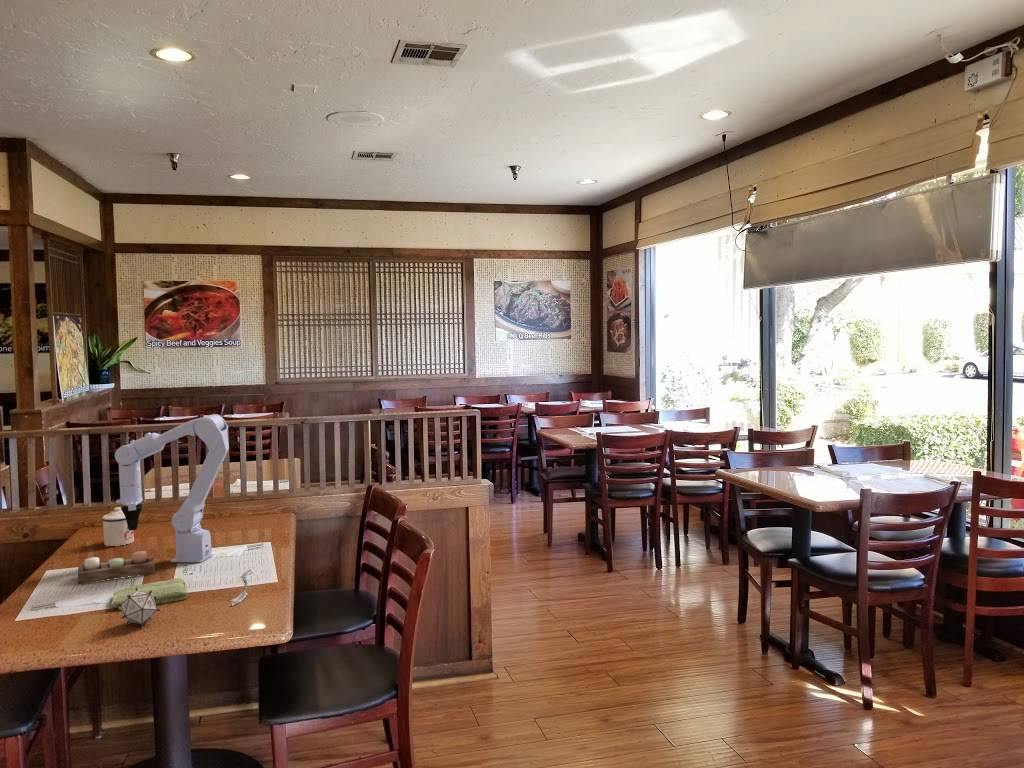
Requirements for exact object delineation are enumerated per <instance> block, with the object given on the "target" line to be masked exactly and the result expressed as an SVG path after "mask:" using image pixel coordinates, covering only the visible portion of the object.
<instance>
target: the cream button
mask: <svg viewBox="0 0 1024 768" xmlns="http://www.w3.org/2000/svg"><path fill="white" fill-rule="evenodd" d="M99 563H100V557H97V556H92V557H87V558H85V559H84V565H85V569H86V570H93V569H97V568H99V567H100V565H99Z"/></svg>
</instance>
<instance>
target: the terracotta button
mask: <svg viewBox="0 0 1024 768" xmlns="http://www.w3.org/2000/svg"><path fill="white" fill-rule="evenodd" d="M147 554H148V553H147V551H146V550H138V551H135V552H132V559H133V563H143V562H146V561H147V557H148V556H147Z"/></svg>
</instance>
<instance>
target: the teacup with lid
mask: <svg viewBox="0 0 1024 768" xmlns="http://www.w3.org/2000/svg"><path fill="white" fill-rule="evenodd" d="M101 520H102V524H103V525H102V527H103V543H104V546H105V547H109V546H116V547H121V546H120V545H124V546H127V545H126V544H128V545H130V543H131V544H132V543H133V542H134V541H135V537H134V536H135V535H134V534H135V533H134V532H135V531H134V530H130V531H129V529H128V525H127V521H126V518H125V515H124V513H123V512H122V510H121V507H119V506H117V507H114V508H113V510H112V511H110V512H109V513H108V514H104V515H103V516H102V518H101Z"/></svg>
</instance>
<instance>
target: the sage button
mask: <svg viewBox="0 0 1024 768" xmlns="http://www.w3.org/2000/svg"><path fill="white" fill-rule="evenodd" d="M123 560H124V558H123V557H117V558H111V559H109V560H108V562H109V568H110V567H118V566H124V563H123Z"/></svg>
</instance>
